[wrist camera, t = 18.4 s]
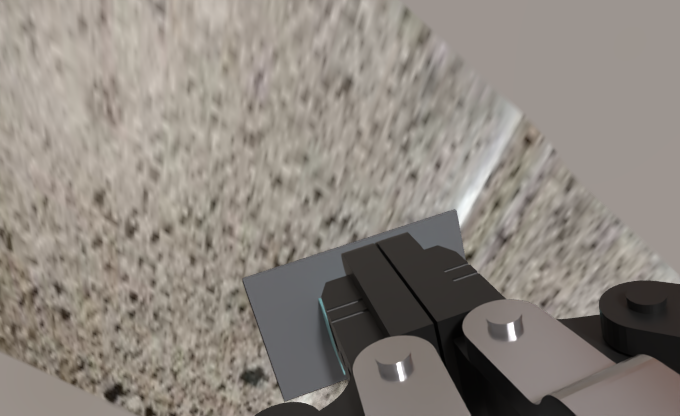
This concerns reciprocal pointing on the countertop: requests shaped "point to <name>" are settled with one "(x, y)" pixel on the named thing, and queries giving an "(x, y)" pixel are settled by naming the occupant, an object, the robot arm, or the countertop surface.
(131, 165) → the countertop surface
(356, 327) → the robot arm
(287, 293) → the rubber mat
